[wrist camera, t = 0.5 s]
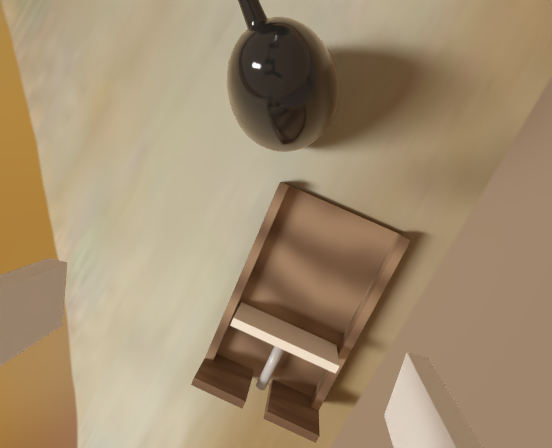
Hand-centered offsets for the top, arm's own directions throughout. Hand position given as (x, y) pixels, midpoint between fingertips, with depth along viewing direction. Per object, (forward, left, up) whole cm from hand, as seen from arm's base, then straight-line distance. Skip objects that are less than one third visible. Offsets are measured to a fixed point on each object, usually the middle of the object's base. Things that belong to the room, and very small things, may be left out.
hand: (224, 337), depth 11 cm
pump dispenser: (-13, -1, -25) cm, 28 cm away
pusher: (+15, +1, -23) cm, 28 cm away
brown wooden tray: (+9, +3, -25) cm, 26 cm away
